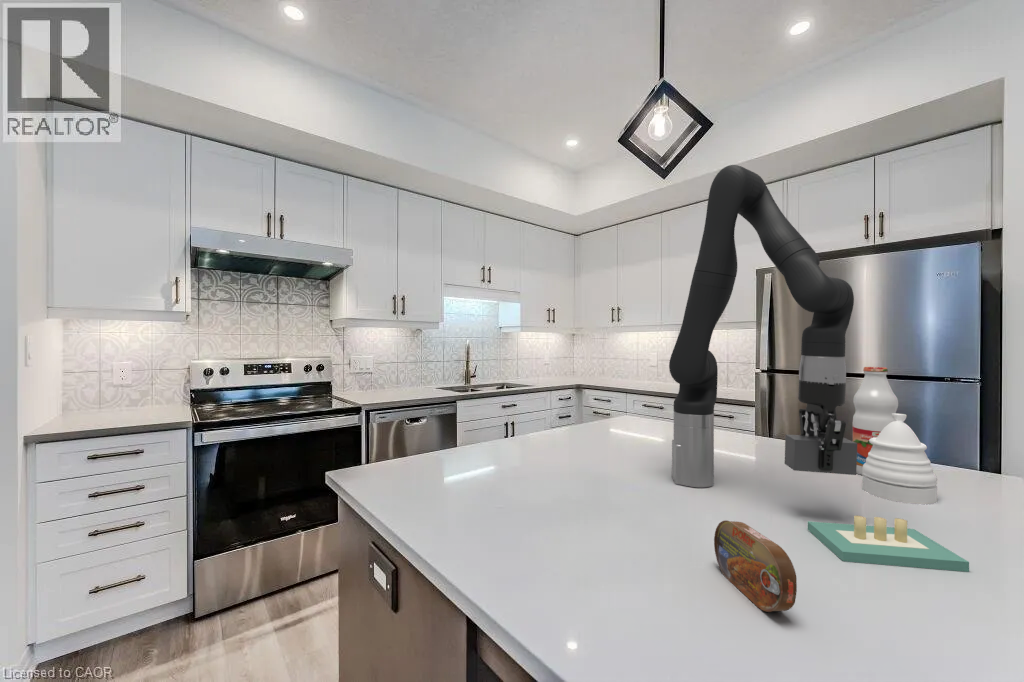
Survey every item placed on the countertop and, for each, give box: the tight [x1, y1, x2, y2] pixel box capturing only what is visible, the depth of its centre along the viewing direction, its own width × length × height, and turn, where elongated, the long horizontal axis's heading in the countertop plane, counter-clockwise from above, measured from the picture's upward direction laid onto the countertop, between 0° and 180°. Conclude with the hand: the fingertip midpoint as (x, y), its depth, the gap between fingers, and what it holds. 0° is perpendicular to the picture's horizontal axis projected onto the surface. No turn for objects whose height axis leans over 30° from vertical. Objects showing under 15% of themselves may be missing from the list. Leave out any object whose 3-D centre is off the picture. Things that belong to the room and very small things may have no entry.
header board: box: [807, 515, 970, 573], centre depth 75 cm, size 17×12×5 cm
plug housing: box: [784, 433, 857, 476], centre depth 87 cm, size 11×5×6 cm, turn 78°
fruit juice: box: [852, 366, 899, 476], centre depth 116 cm, size 9×9×28 cm
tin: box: [713, 520, 798, 613], centre depth 62 cm, size 15×3×8 cm, turn 5°
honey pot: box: [861, 412, 938, 506], centre depth 101 cm, size 13×13×18 cm
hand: (819, 465), depth 87 cm, fingers closed on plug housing, 4 cm apart
